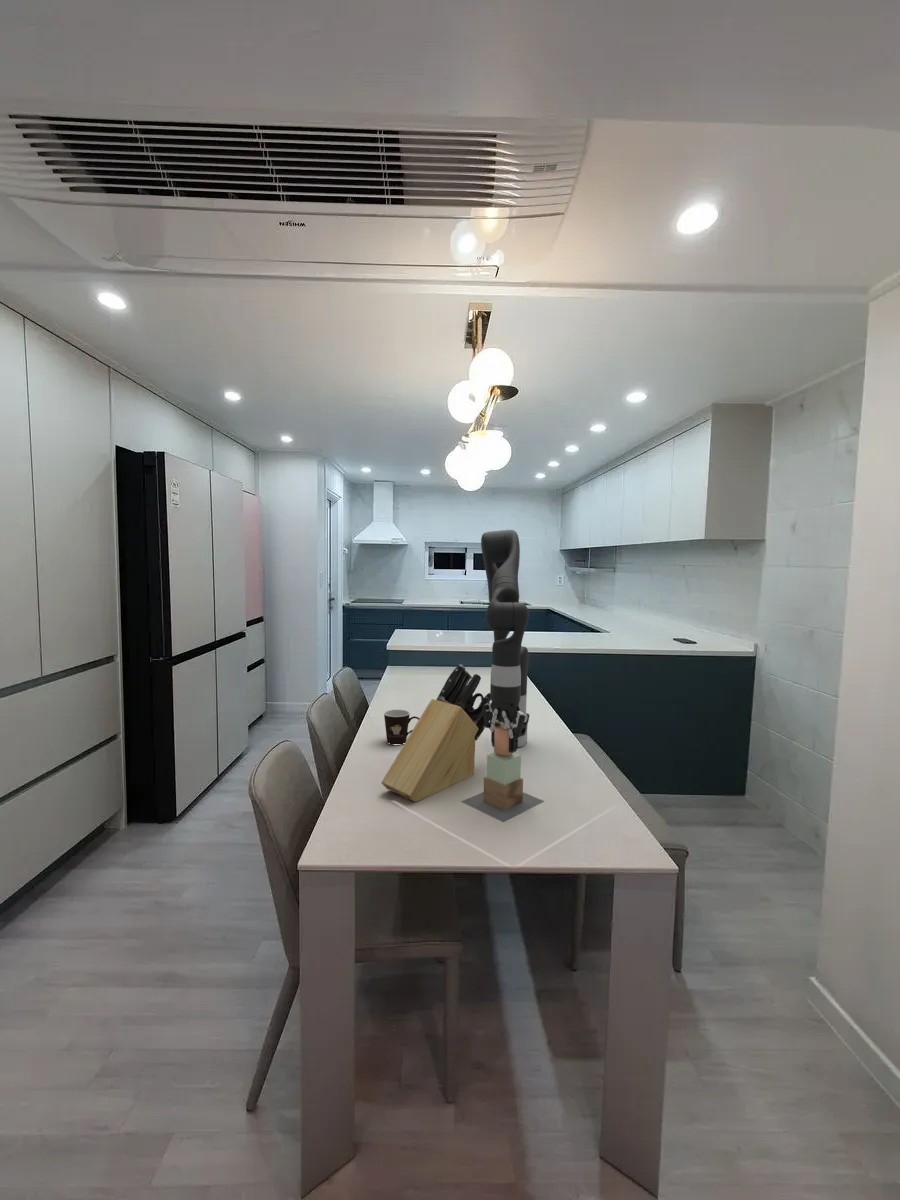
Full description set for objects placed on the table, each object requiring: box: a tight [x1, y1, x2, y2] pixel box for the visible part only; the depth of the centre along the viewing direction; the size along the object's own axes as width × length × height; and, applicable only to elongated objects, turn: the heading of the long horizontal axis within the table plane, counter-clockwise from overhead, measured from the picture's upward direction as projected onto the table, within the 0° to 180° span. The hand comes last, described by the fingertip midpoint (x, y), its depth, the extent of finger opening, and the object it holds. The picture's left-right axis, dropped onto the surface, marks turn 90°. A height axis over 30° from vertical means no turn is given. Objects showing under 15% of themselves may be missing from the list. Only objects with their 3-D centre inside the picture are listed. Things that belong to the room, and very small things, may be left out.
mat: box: [460, 791, 545, 823], centre depth 131 cm, size 16×14×1 cm
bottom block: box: [483, 776, 524, 811], centre depth 131 cm, size 7×7×6 cm
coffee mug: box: [383, 709, 420, 745], centre depth 174 cm, size 12×9×10 cm
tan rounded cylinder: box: [493, 725, 515, 755], centre depth 130 cm, size 5×5×6 cm
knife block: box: [380, 664, 492, 803], centre depth 144 cm, size 11×35×31 cm, turn 139°
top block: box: [486, 751, 522, 785], centre depth 130 cm, size 6×6×6 cm
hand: (504, 748), depth 130 cm, fingers closed on tan rounded cylinder, 5 cm apart
